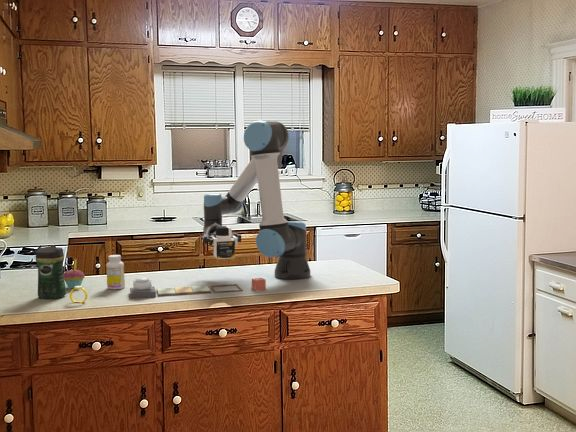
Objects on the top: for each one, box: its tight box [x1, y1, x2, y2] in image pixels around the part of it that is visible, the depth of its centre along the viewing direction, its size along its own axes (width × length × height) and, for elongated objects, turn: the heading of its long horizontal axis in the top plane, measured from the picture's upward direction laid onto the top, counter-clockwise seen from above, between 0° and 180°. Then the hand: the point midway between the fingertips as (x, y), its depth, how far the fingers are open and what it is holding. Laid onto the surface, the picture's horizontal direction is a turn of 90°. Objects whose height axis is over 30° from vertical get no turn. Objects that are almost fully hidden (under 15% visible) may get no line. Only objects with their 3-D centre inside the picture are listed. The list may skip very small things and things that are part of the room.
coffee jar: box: [35, 246, 67, 300], centre depth 245 cm, size 10×8×19 cm
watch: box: [69, 285, 89, 304], centre depth 236 cm, size 6×3×6 cm, turn 88°
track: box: [156, 285, 212, 297], centre depth 252 cm, size 20×10×1 cm, turn 105°
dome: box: [132, 277, 153, 290], centre depth 247 cm, size 7×7×3 cm
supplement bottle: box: [105, 254, 126, 291], centre depth 259 cm, size 7×7×13 cm
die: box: [251, 277, 267, 291], centre depth 255 cm, size 4×4×4 cm
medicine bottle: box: [212, 225, 236, 260], centre depth 254 cm, size 7×7×12 cm
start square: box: [209, 283, 243, 294], centre depth 256 cm, size 11×11×1 cm
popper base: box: [129, 286, 157, 300], centre depth 247 cm, size 9×9×2 cm
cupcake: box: [63, 259, 86, 289], centre depth 260 cm, size 9×8×12 cm
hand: (226, 242), depth 249 cm, fingers closed on medicine bottle, 7 cm apart
